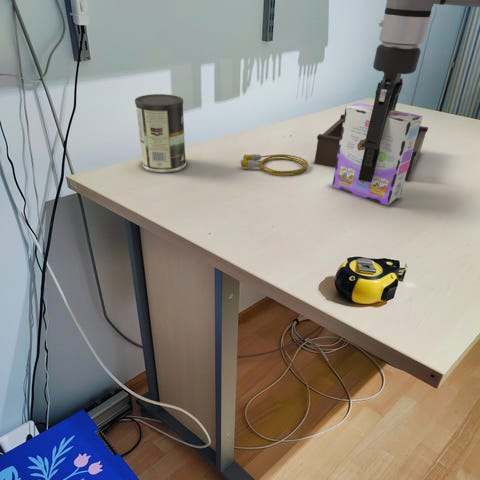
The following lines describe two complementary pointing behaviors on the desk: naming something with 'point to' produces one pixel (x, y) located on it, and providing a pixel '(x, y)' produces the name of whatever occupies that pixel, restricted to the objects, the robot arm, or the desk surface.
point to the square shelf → (331, 140)
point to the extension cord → (251, 160)
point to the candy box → (389, 159)
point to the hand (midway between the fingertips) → (369, 174)
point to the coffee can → (161, 132)
